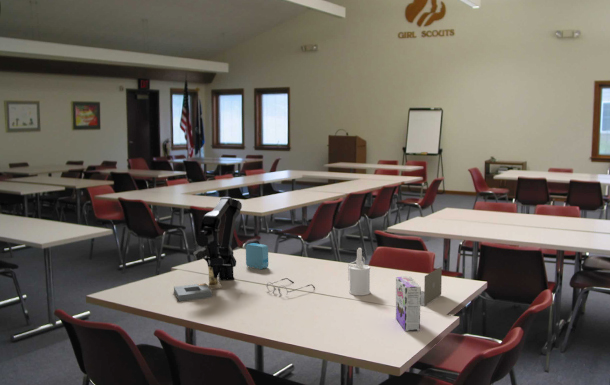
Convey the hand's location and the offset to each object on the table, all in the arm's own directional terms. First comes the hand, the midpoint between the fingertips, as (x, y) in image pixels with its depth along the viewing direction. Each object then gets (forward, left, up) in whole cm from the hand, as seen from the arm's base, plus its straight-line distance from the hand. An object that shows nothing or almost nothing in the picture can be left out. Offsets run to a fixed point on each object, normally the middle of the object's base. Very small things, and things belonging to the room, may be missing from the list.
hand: (213, 275), depth 259 cm
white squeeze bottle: (-57, +34, -6) cm, 67 cm away
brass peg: (0, 0, -4) cm, 4 cm away
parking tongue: (0, 0, -5) cm, 5 cm away
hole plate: (+11, +8, -5) cm, 15 cm away
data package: (-29, -27, -6) cm, 40 cm away
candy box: (-55, +77, -6) cm, 95 cm away
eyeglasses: (-31, +18, -6) cm, 36 cm away
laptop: (-77, +52, -6) cm, 93 cm away
